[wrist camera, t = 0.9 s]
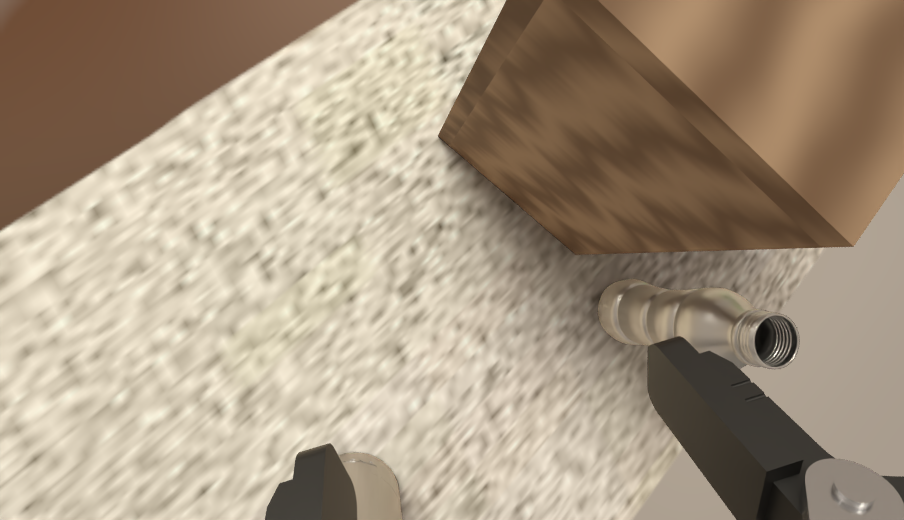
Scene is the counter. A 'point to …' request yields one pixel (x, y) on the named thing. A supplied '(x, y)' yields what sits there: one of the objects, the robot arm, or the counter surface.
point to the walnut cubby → (689, 120)
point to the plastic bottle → (699, 322)
